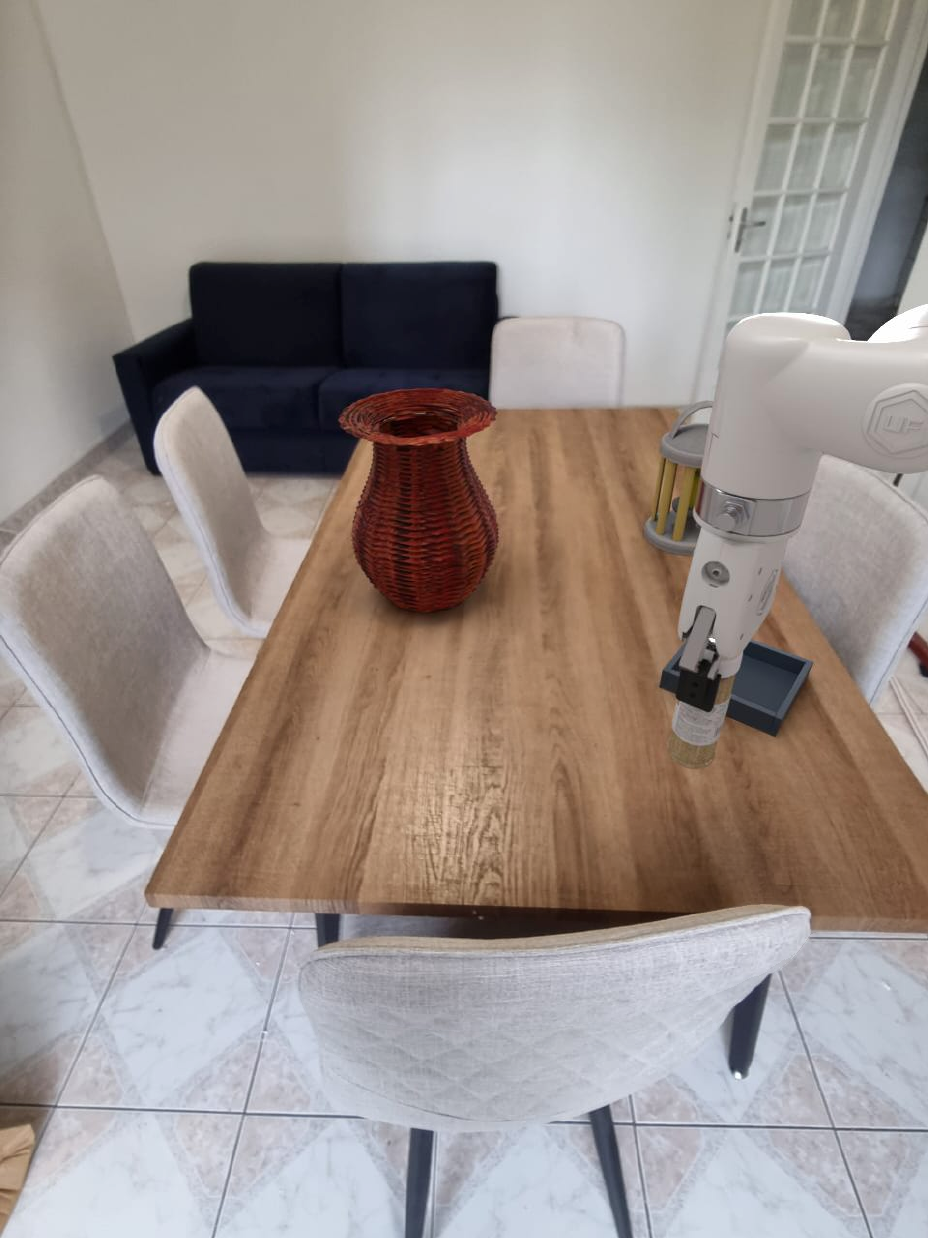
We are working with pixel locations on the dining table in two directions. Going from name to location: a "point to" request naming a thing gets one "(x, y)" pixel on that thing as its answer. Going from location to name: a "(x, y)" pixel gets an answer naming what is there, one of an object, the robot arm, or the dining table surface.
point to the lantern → (678, 525)
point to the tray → (757, 685)
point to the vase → (422, 497)
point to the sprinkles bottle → (702, 721)
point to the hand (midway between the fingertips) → (706, 685)
